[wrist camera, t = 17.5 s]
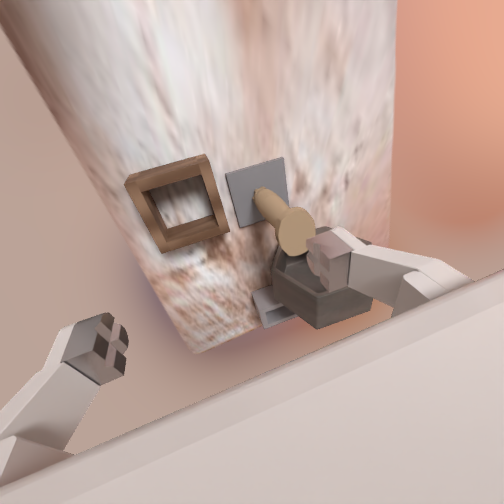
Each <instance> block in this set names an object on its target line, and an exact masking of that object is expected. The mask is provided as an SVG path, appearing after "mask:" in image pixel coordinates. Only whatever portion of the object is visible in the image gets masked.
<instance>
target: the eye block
mask: <svg viewBox="0 0 504 504" xmlns="http://www.w3.org/2000/svg"><path fill="white" fill-rule="evenodd" d="M198 175H202V178H203V181H204V184H205V187H206V190H207V193H208V196H209V199H210V202H211V205H212V208H213V211H214V215H211V216H207V217H204V218H201V219H198V220H195V221H191V222H188V223H185V224H182V225H179V226H176V227H172V228H169V229H167V227H166V225H165V223H164V221H163V219H162V217H161V214H160V212H159V210H158V208H157V206H156V204H155V202H154V200H153V198H152V196H151V194H150V192H149V190H150V189H153V188H157V187H160V186H164V185H167V184H170V183H174V182H177V181H181V180H184V179H188V178H191V177H194V176H198ZM124 186H125V188H126V189H127V191H128V193H129V195H130V197H131V199H132V201H133V202H134V204H135V206H136V208H137V210H138V212H139V213H140V215H141V217H142V219H143V221H144V223H145V224H146V226H147V228H148V230H149V232H150V234H151V235H152V237H153V239H154V241H155V243H156V245H157V246H158V248H159V250H160V252H161V254H163V253H166V252H169V251H172V250H175V249H178V248H181V247H184V246H187V245H190V244H193V243H197V242H200V241H203V240H206V239H209V238H212V237H215V236H218V235H221V234H224V233H227V232H230V229H229V226H228V222H227V219H226V216H225V212H224V209H223V206H222V202H221V199H220V196H219V192H218V189H217V186H216V182H215V179H214V176H213V172H212V169H211V166H210V162H209V160H208V158H207V156H206V155H205V154H202V155H198V156H195V157H191V158H188V159H184V160H181V161H177V162H173V163H170V164H166V165H163V166H159V167H156V168H152V169H148V170H145V171H141V172H138V173H134V174H131V175H129V177H128V178H127V180H126V182H125V183H124Z"/></svg>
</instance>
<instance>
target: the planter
mask: <svg viewBox="0 0 504 504" xmlns="http://www.w3.org/2000/svg"><path fill="white" fill-rule="evenodd" d="M331 229H332V228H329V227H320V228H317V229H315V230H316V234H315V236H316V235H318V234H321V233H324V232H326V231H328V230H331ZM356 238H357V237H356ZM357 239H359V240H360V241H361V242H363V243H364V244H365V245H372V243H371V242H369V241H366V240H363V239H360V238H357ZM308 251H309V250H308ZM308 251H306V252H305V253H303V254H300V255H297V256H289V255H288V254H287V253H286V252H285V251H284V250H283V249H282V248H281V247H280V245H279V247H278V250H277V252H276V255H275V258H274V261H273V264H272V266H271V275H272V283H273V290H274V298H275V299H276V300H277V301H279V302H280V303H281V304H283V305H284V306H285V307H287V308H288V309H289V310H291V311H292V312H294V313H295V314H296V315H298V316H299V317H300V318H302V319H303V320H304V321H306V322H307V323H308V324H310V325H311V326H313V327H314V328H315V329H320V328H323V327H326V326H329V325H331V324H334V323H337V322H339V321H343V320H345V319H348V318H351V317H354V316H356V315H359V314H362V313H365V312H368V311H370V309H371V305H372V301H373V298H372V297H369V296H367V295H365V294H363V293H361V292H359V291H356V290H354V289H352V288H350V287H348V286H346V287H343V288H341V289H338V290H335V291H332V292H330V293H329V292H328V291H327V289H326V288H325V287H324V286H323V285H322V283H321V282H320V277H319V276H316V275H314V274H313V272H312V271H311V269H310V268H309V265H308V262H307V253H308Z"/></svg>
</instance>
